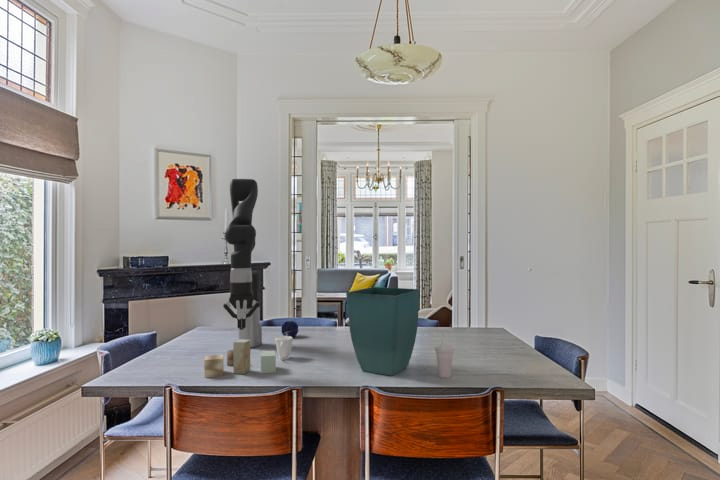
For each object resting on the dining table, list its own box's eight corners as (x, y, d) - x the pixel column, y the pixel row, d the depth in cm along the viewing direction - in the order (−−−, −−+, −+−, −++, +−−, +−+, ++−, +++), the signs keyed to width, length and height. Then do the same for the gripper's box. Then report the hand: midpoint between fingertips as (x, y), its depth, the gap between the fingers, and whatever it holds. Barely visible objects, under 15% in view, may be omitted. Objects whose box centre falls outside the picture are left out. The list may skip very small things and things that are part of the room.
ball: (296, 338, 206) (296, 322, 206) (280, 339, 207) (280, 323, 207) (299, 335, 214) (298, 319, 214) (283, 335, 215) (283, 320, 215)
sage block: (274, 367, 160) (274, 350, 160) (275, 372, 153) (275, 355, 153) (260, 368, 158) (260, 351, 158) (261, 373, 152) (261, 356, 152)
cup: (294, 355, 175) (294, 335, 175) (289, 362, 165) (289, 341, 165) (277, 355, 175) (277, 335, 175) (271, 362, 165) (271, 341, 165)
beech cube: (223, 371, 155) (223, 354, 155) (222, 375, 150) (222, 358, 150) (205, 372, 154) (205, 355, 154) (204, 377, 148) (204, 360, 148)
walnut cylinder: (236, 361, 167) (236, 348, 167) (243, 364, 164) (243, 351, 164) (224, 364, 164) (224, 351, 164) (231, 367, 160) (231, 353, 160)
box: (244, 374, 151) (243, 342, 151) (232, 373, 152) (232, 342, 152) (251, 369, 156) (250, 339, 156) (240, 369, 157) (239, 338, 157)
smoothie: (433, 373, 149) (432, 332, 149) (451, 372, 150) (450, 332, 150) (438, 379, 143) (437, 336, 143) (456, 378, 143) (456, 336, 143)
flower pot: (396, 381, 141) (395, 295, 141) (345, 372, 151) (344, 292, 151) (421, 366, 158) (420, 289, 158) (374, 359, 168) (373, 286, 168)
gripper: (221, 282, 149) (221, 332, 148) (260, 280, 152) (261, 330, 152) (222, 280, 156) (222, 328, 156) (259, 279, 160) (260, 326, 159)
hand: (241, 329), depth 154 cm, fingers closed
